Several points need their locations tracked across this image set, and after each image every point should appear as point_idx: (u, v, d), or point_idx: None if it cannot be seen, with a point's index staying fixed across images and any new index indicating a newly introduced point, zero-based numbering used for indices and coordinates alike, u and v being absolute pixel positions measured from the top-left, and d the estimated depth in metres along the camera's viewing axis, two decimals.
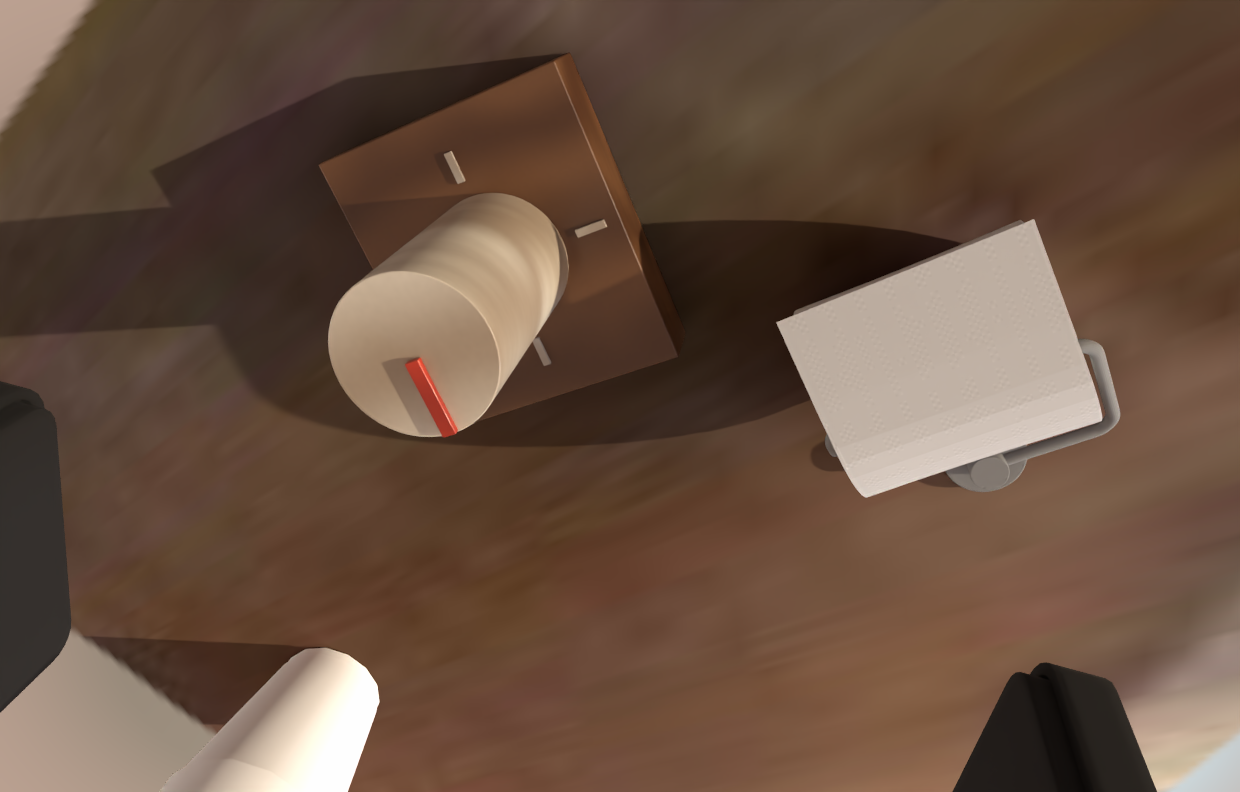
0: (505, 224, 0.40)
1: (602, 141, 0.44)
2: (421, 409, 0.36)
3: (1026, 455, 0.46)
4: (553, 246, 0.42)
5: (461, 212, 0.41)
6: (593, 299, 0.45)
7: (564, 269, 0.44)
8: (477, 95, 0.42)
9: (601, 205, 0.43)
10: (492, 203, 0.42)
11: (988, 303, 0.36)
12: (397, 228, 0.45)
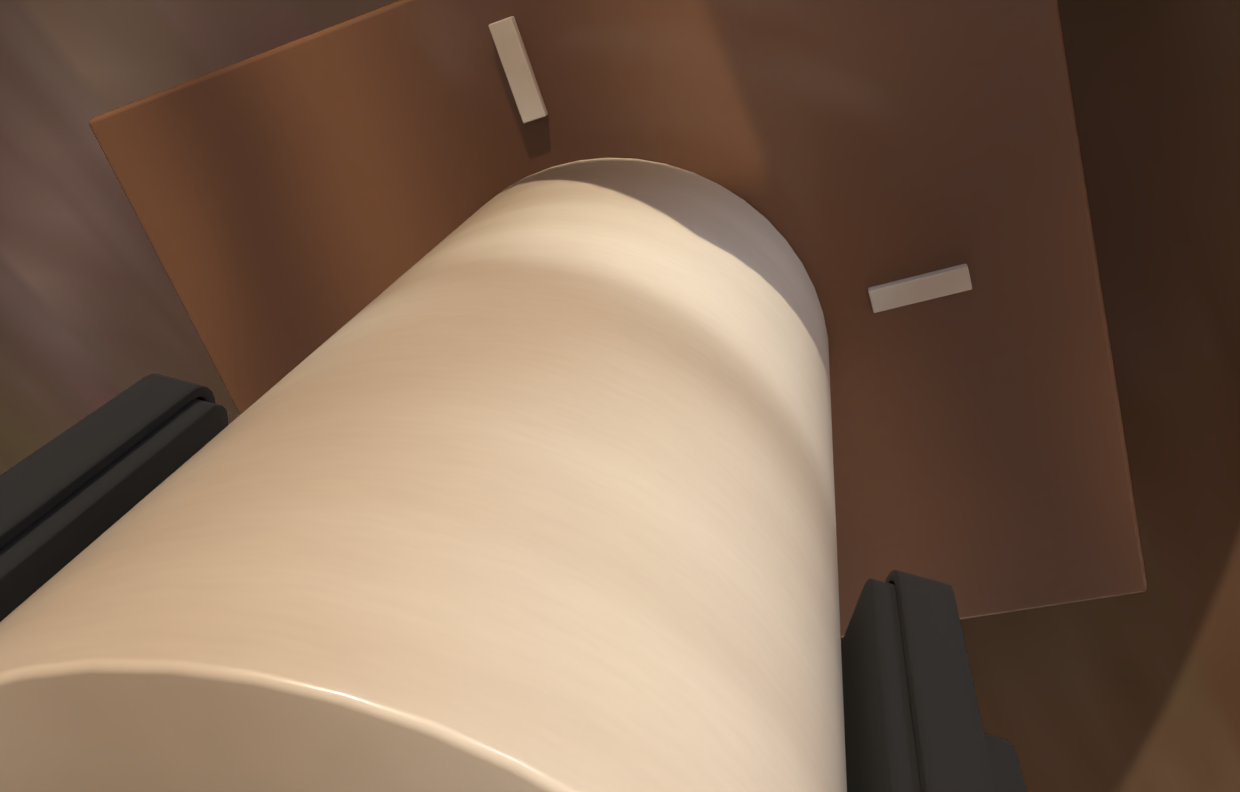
0: None
1: None
2: None
3: None
4: (518, 193, 0.13)
5: None
6: (754, 88, 0.14)
7: (620, 170, 0.13)
8: (197, 332, 0.17)
9: (451, 27, 0.14)
10: None
11: None
12: None
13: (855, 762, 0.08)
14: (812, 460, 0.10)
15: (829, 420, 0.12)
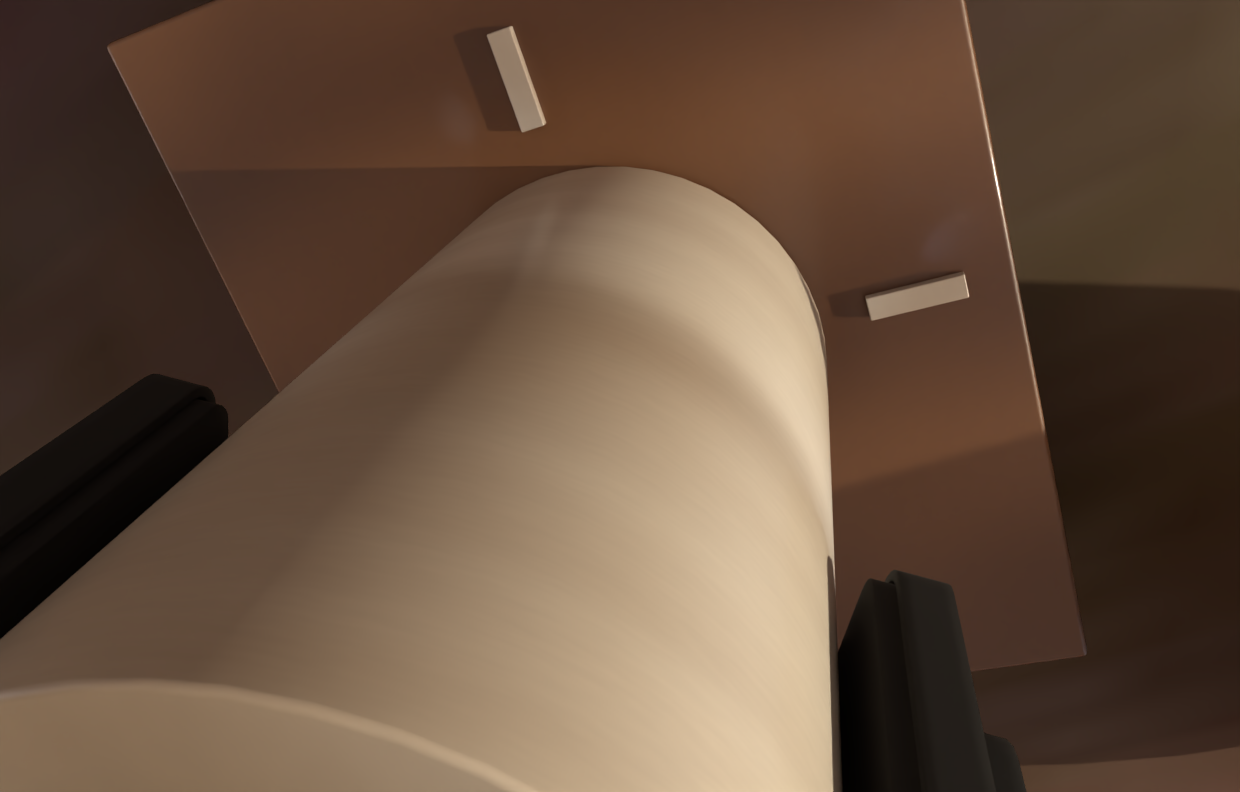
0: None
1: None
2: None
3: None
4: (507, 206, 0.13)
5: None
6: (878, 489, 0.16)
7: (608, 178, 0.14)
8: None
9: (965, 230, 0.14)
10: None
11: None
12: (333, 249, 0.16)
13: (855, 762, 0.08)
14: (803, 460, 0.10)
15: (824, 419, 0.12)
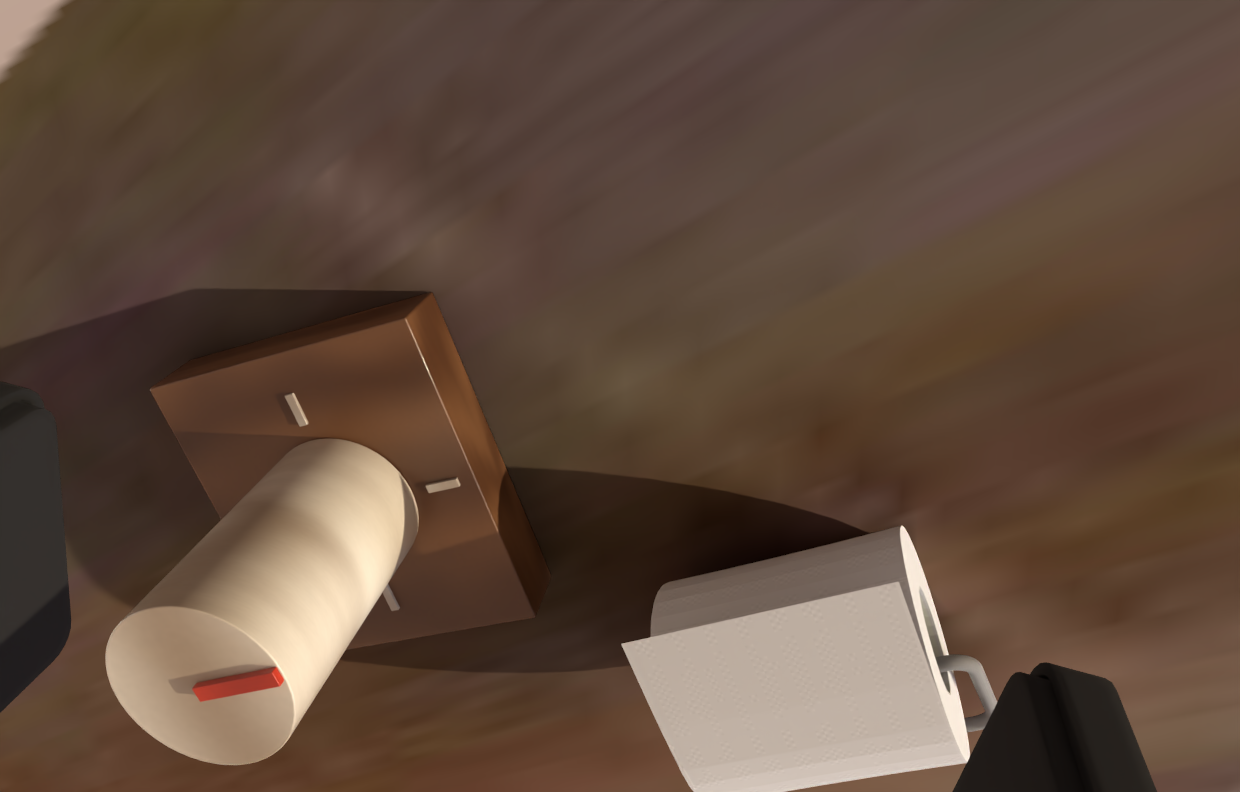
0: None
1: (464, 387, 0.40)
2: (259, 696, 0.31)
3: None
4: (289, 459, 0.39)
5: None
6: (445, 552, 0.41)
7: (326, 448, 0.39)
8: (321, 342, 0.38)
9: (454, 464, 0.39)
10: None
11: (847, 655, 0.33)
12: (235, 460, 0.41)
13: None
14: (349, 556, 0.35)
15: (384, 537, 0.37)
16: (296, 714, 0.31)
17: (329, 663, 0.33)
